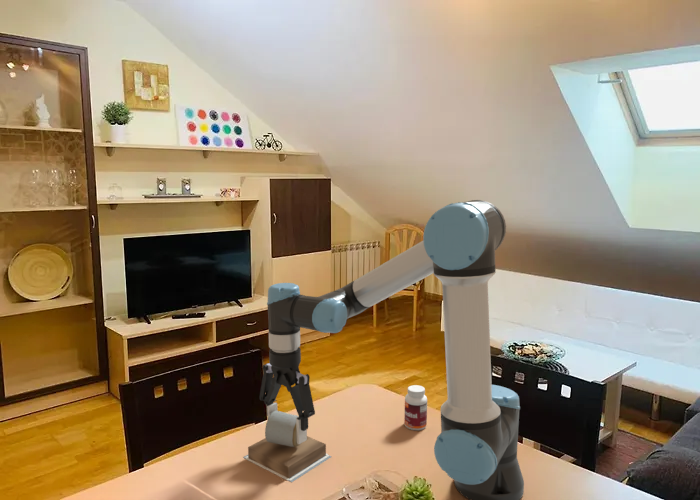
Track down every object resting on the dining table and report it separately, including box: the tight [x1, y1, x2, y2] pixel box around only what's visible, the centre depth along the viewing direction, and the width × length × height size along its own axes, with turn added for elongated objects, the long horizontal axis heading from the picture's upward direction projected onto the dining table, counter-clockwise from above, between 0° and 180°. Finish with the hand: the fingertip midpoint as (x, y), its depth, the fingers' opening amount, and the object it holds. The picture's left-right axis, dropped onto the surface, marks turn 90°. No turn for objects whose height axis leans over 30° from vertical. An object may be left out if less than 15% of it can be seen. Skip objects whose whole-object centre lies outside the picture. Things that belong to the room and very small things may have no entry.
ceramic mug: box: [264, 410, 300, 447], centre depth 133 cm, size 11×8×8 cm
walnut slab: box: [247, 435, 327, 478], centre depth 132 cm, size 14×13×3 cm
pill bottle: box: [403, 384, 428, 431], centre depth 148 cm, size 6×6×11 cm
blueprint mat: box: [242, 452, 332, 483], centre depth 133 cm, size 17×14×1 cm
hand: (287, 435), depth 132 cm, fingers closed on ceramic mug, 9 cm apart
